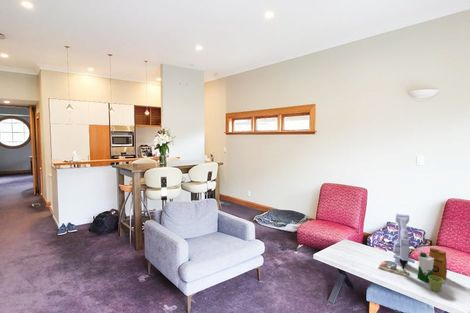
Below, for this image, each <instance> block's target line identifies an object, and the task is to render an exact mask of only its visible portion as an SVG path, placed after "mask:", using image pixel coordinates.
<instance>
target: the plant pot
mask: <svg viewBox="0 0 470 313" xmlns="http://www.w3.org/2000/svg"><path fill="white" fill-rule="evenodd" d="M428 278H429V282H428V283H429V289H430V290H431V291H433V292H436V293H439V292H441V291H442V287H443V283H444V282H445V279H444V280H443V279H442V278H440V277H437V276H433V275H430V276H428Z"/></svg>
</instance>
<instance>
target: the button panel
mask: <svg viewBox="0 0 470 313" xmlns="http://www.w3.org/2000/svg"><path fill="white" fill-rule="evenodd" d="M381 264H382V263H380V264H379V265H378V266H377V267H378V269H379V270H382V271H385V272H389V273H393V274H396V275H400V276H403V277H407V278H408V277H409V274H410V271H408V270H406V274H404V273H401V272H400V269H401V268H398V267H396V270H392V269H391V265H387V267H386V268H384V267H382V266H381Z"/></svg>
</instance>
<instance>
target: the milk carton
mask: <svg viewBox="0 0 470 313" xmlns="http://www.w3.org/2000/svg"><path fill="white" fill-rule="evenodd" d="M433 263H434V258H432V257H430V256H429V255H428V254H427V253H425V252H420V254H419V255H418V267H417V268H418V269H417V279H419V280H421V281H422V282H425V283H430V282H429V278H428V276H430V275H433Z"/></svg>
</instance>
